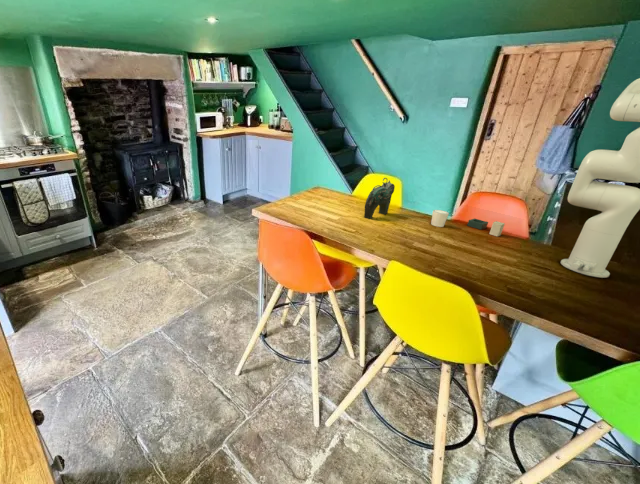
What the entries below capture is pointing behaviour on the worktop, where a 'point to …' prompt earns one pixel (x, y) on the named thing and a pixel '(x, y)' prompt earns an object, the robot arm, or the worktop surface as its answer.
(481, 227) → the dark square tray
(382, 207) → the dark green arched piece
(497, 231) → the peg
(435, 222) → the cream cup
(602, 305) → the worktop surface
